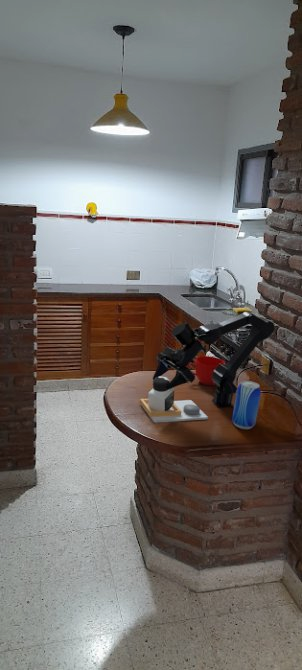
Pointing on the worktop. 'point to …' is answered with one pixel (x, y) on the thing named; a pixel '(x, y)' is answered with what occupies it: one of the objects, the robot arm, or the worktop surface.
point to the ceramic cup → (206, 368)
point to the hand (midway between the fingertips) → (160, 384)
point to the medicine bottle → (161, 395)
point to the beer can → (246, 405)
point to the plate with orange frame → (175, 412)
